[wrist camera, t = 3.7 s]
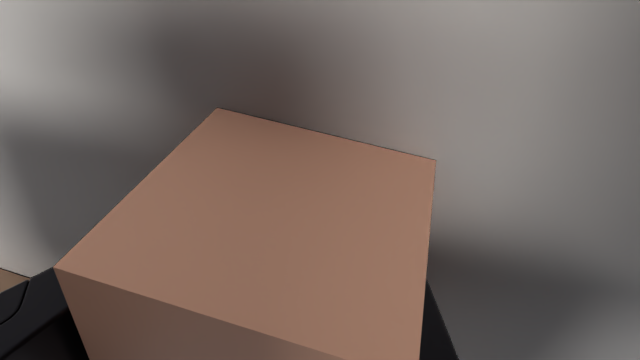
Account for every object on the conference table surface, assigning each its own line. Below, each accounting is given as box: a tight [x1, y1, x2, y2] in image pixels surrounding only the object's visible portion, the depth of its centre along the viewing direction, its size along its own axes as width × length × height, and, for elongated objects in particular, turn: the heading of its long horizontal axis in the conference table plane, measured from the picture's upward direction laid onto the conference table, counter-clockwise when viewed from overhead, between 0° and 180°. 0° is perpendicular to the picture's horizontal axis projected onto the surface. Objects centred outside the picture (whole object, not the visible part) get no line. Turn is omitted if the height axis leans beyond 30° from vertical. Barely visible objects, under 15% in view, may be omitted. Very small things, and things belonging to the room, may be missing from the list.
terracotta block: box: [53, 108, 436, 360], centre depth 9 cm, size 5×5×5 cm
